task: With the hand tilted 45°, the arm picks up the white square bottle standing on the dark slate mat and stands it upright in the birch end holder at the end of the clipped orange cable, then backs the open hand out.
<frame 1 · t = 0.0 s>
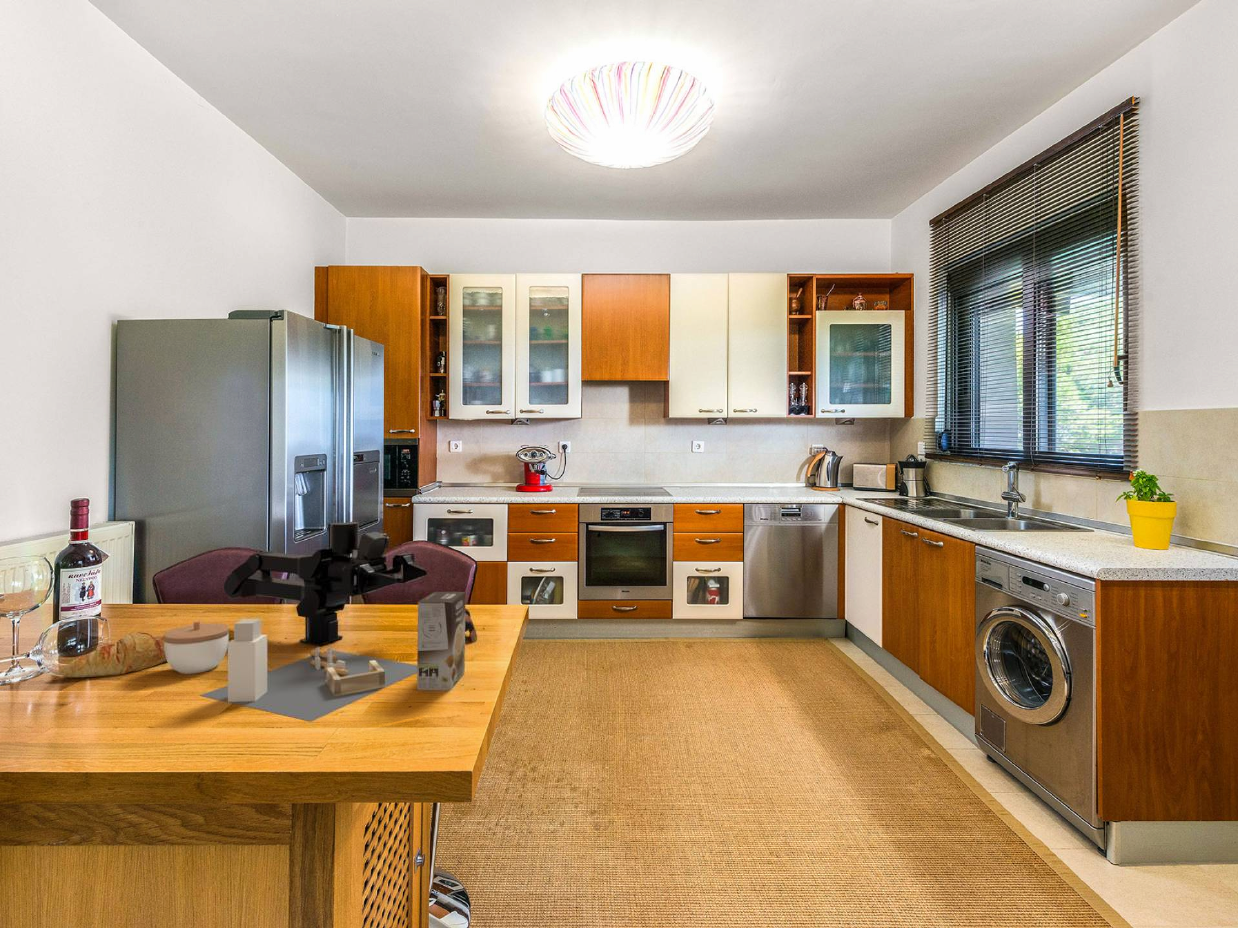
hand: (411, 576, 135), 17 cm above the worktop, tool horizontal, fingers open, 9 cm apart
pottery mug: (456, 640, 148), on the worktop
end holder: (355, 684, 118), resting on slate mat
slate mat: (321, 682, 119), on the worktop
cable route: (321, 640, 145), resting on slate mat
coffee box: (441, 683, 120), on the worktop
white square bottle: (248, 696, 111), resting on slate mat
bread loaf: (129, 668, 127), on the worktop
lidded jar: (197, 671, 125), on the worktop
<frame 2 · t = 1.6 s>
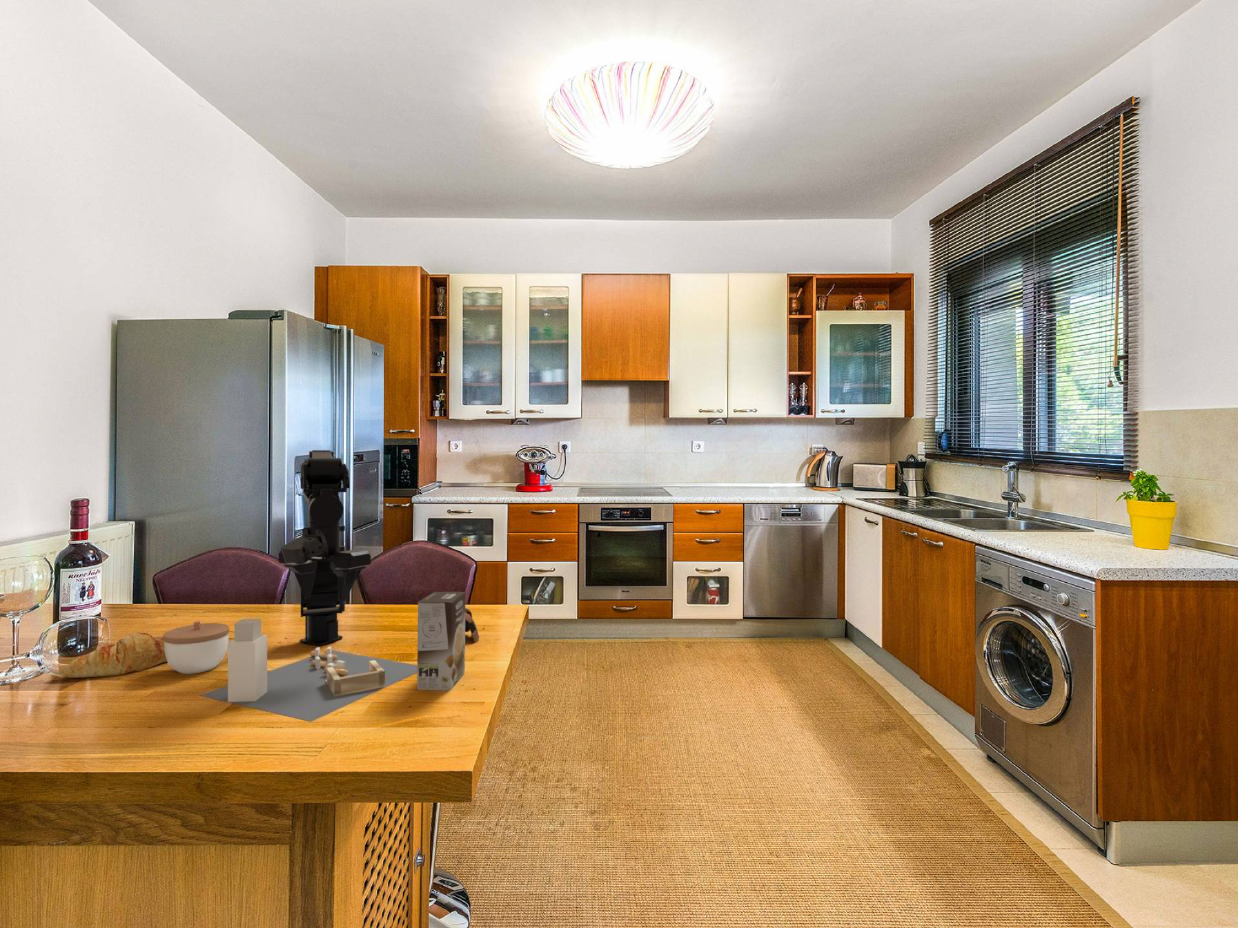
hand: (324, 600, 128), 13 cm above the worktop, tool pointing down, fingers open, 9 cm apart
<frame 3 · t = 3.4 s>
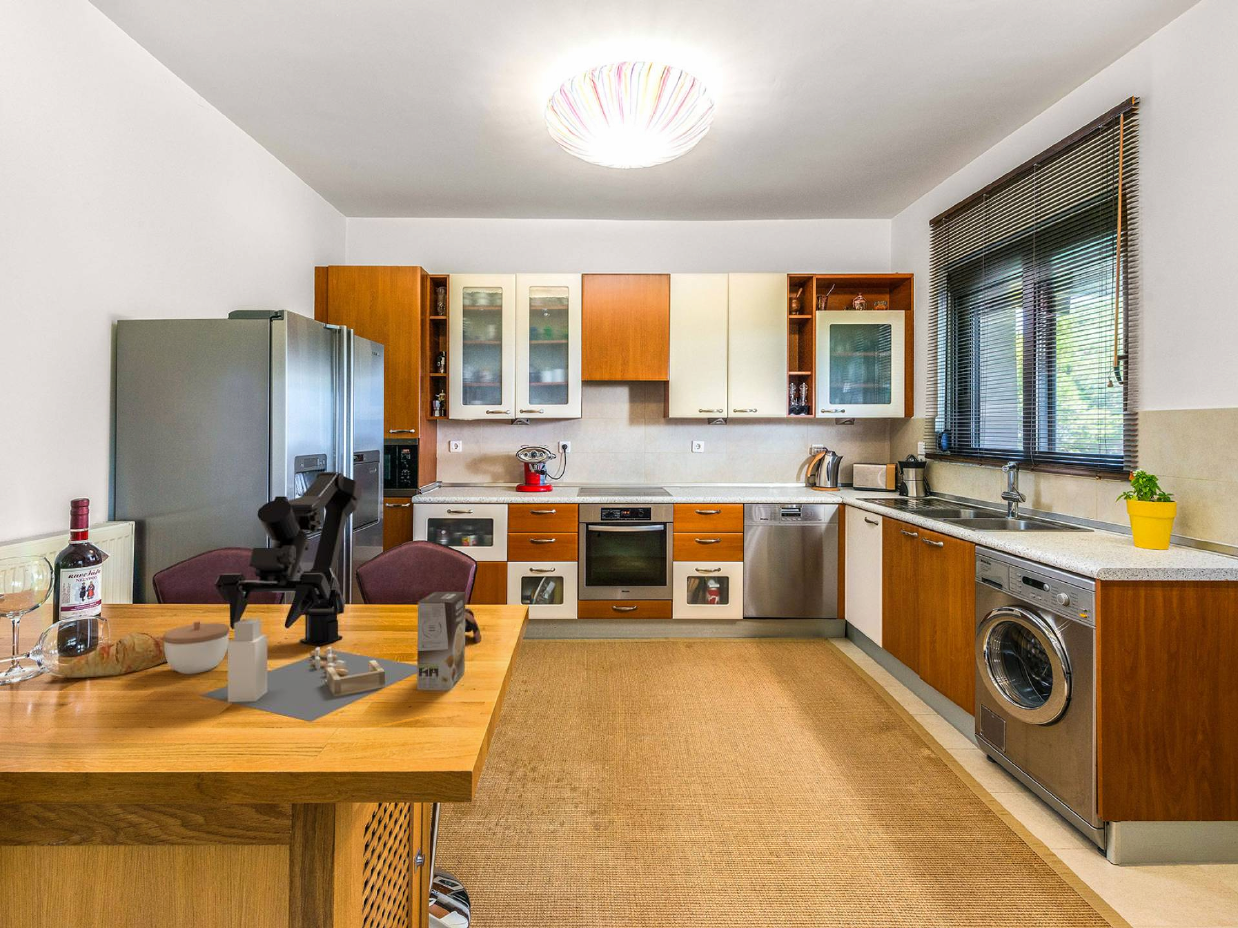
hand: (259, 627, 115), 11 cm above the worktop, tool tilted 45°, fingers open, 9 cm apart
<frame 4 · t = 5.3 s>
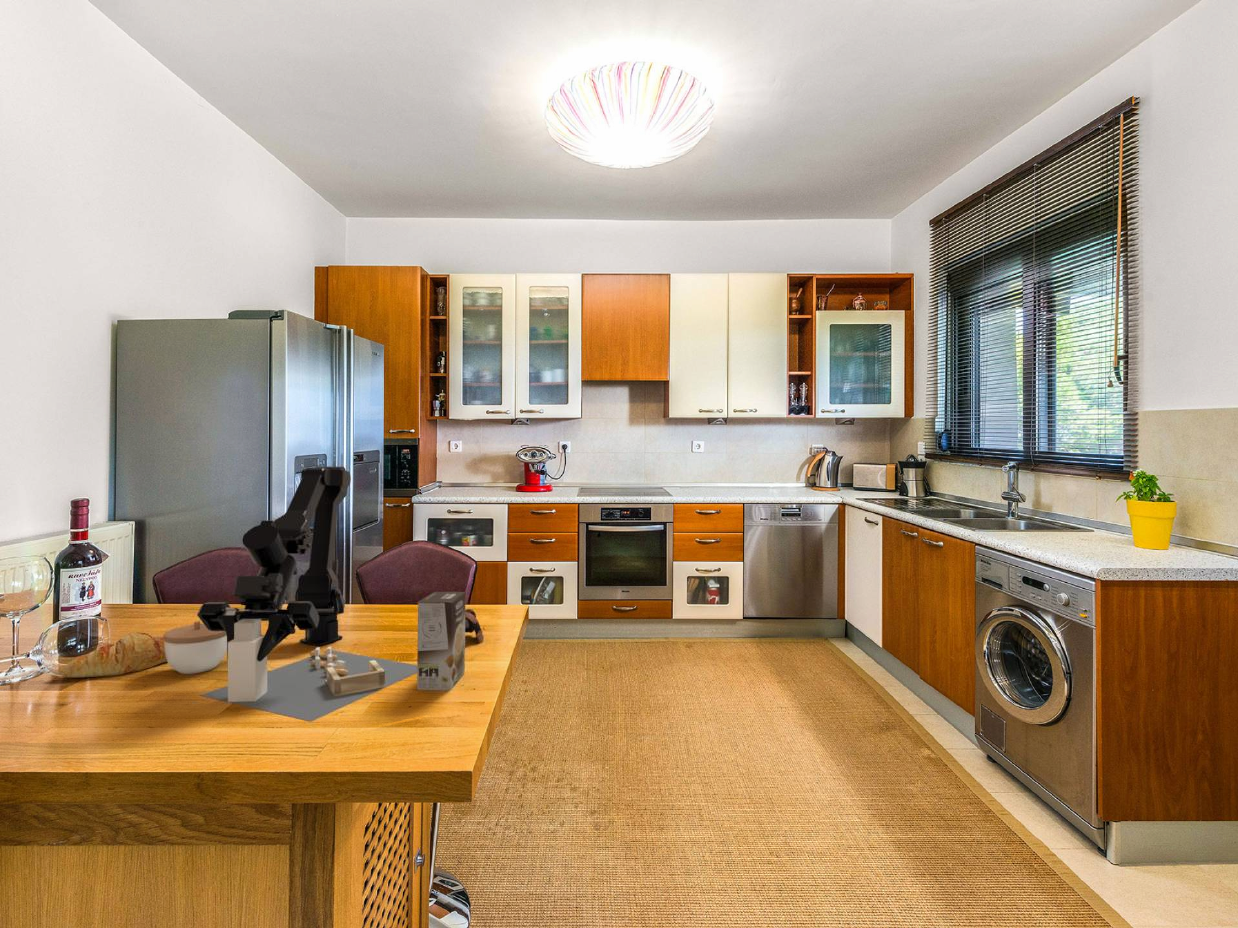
hand: (244, 660, 110), 7 cm above the worktop, tool tilted 45°, fingers closed on white square bottle, 4 cm apart
white square bottle: (248, 696, 111), resting on slate mat, touching gripper
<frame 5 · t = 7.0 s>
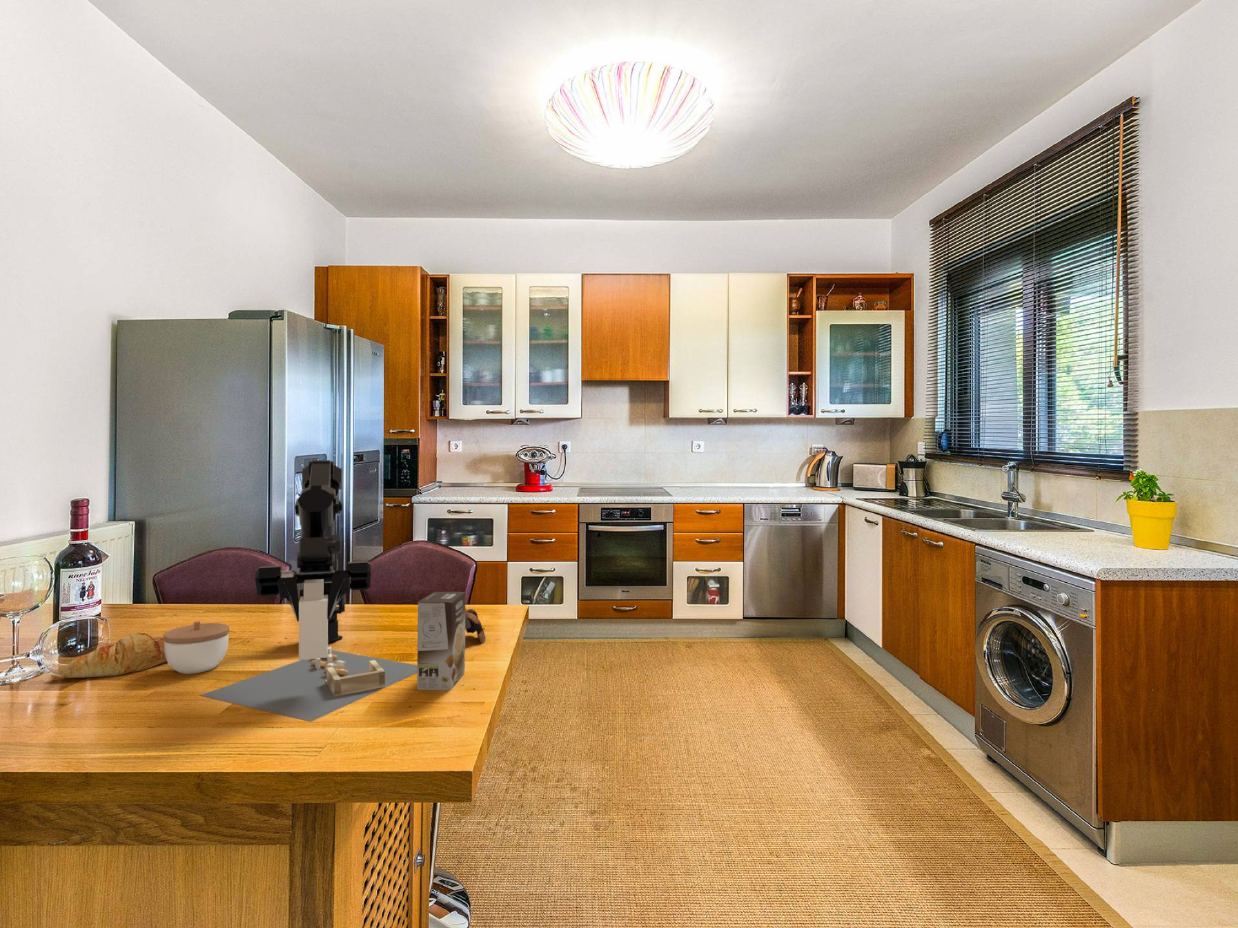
hand: (313, 619, 113), 13 cm above the worktop, tool tilted 45°, fingers closed on white square bottle, 4 cm apart
white square bottle: (313, 654, 114), point 7 cm above the worktop, touching gripper
when the fingers open (9 cm above the worktop, at t = 8.6 s): white square bottle drops 1 cm, resting on end holder.
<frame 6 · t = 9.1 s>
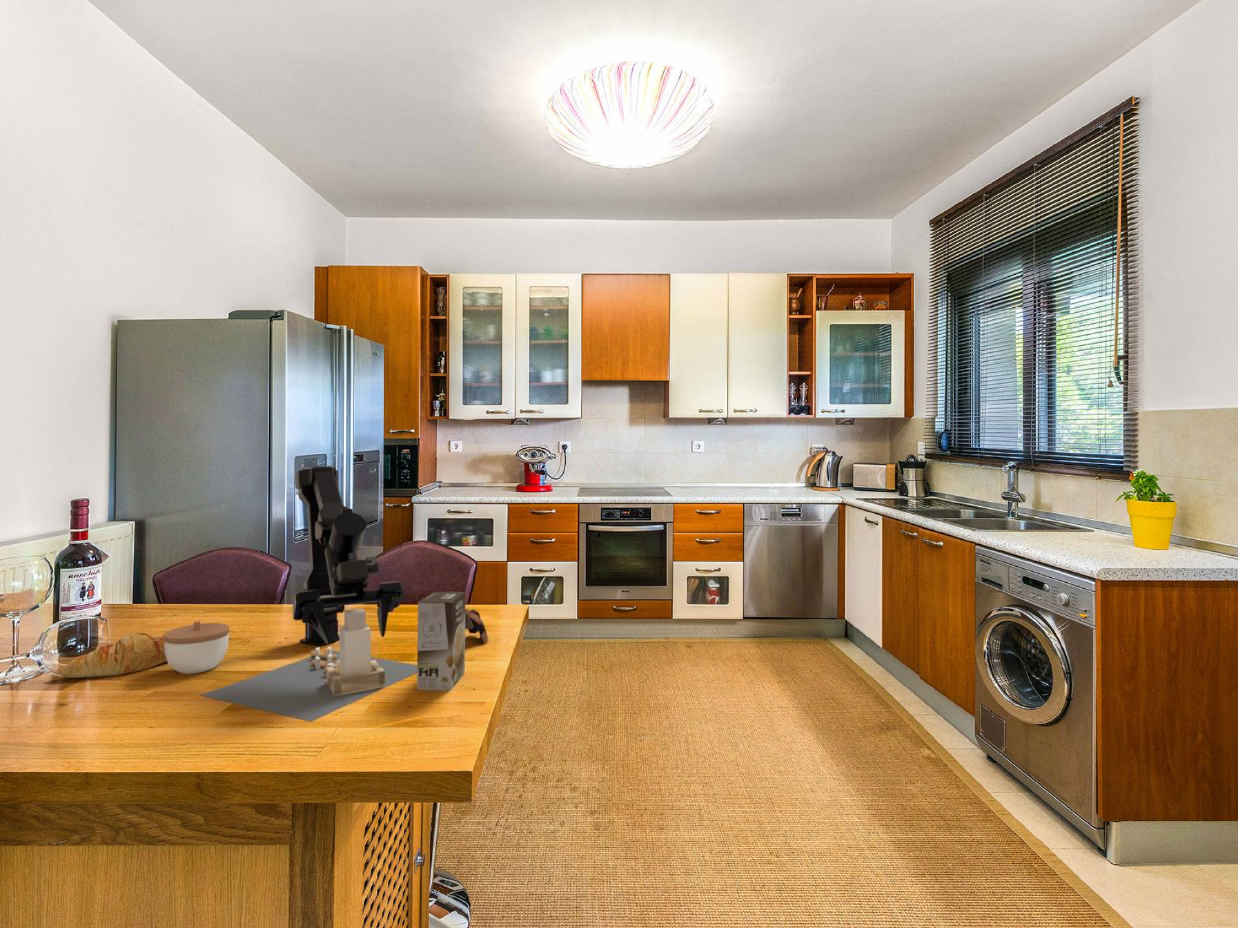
hand: (356, 639, 116), 9 cm above the worktop, tool tilted 45°, fingers open, 9 cm apart
white square bottle: (354, 682, 118), point 1 cm above the worktop, touching end holder
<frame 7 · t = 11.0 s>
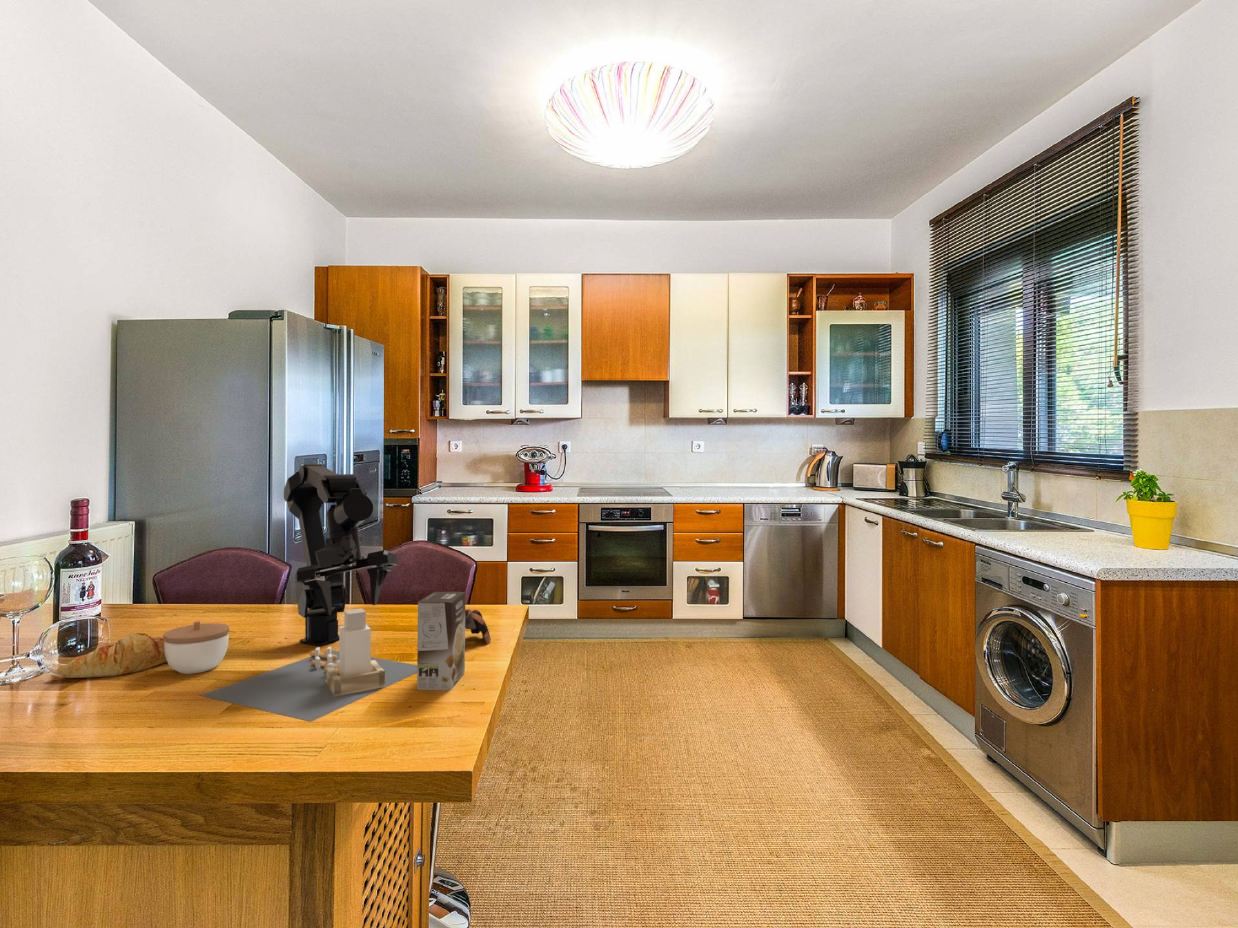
hand: (351, 609, 129), 11 cm above the worktop, tool tilted 20°, fingers open, 9 cm apart
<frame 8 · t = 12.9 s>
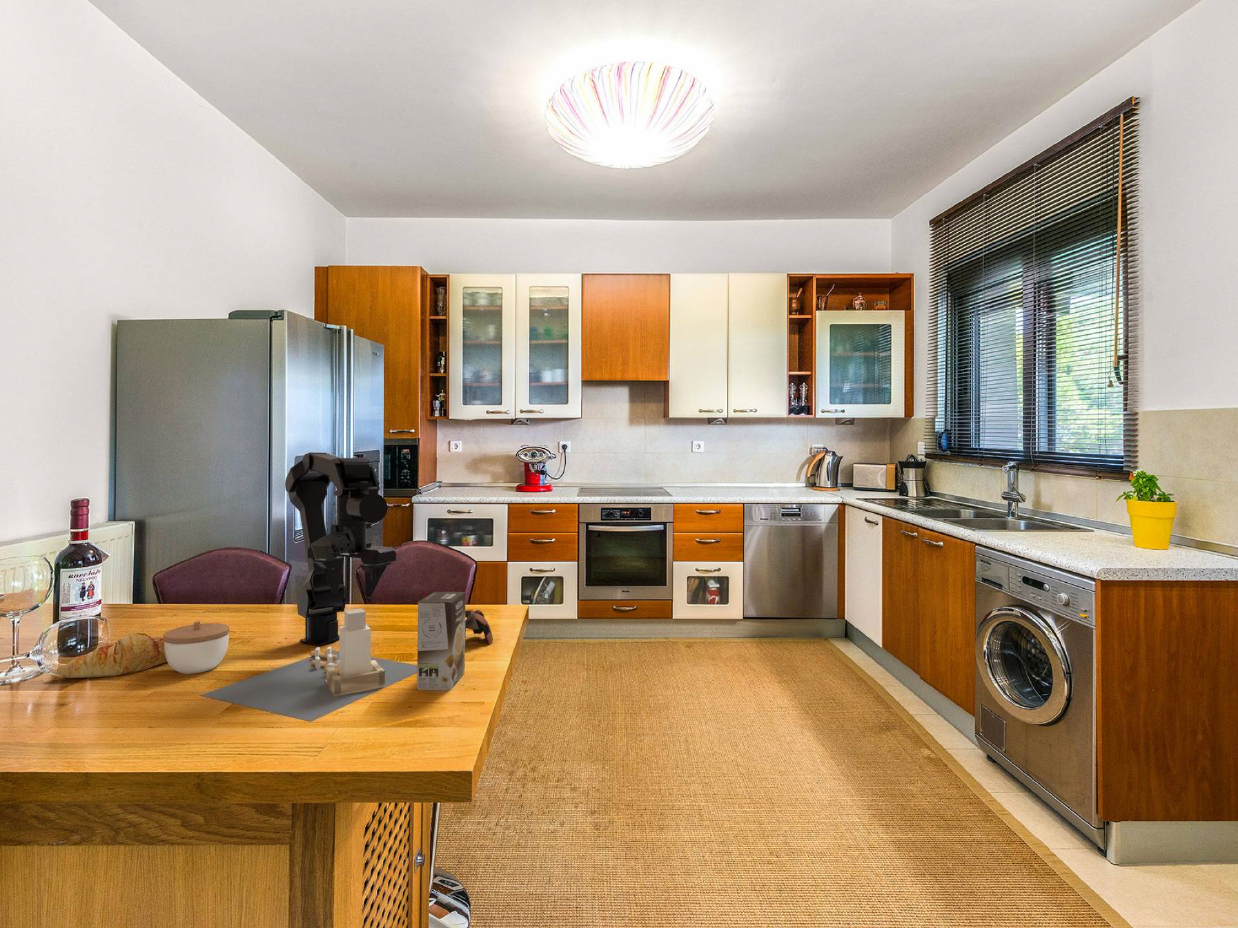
hand: (351, 594, 133), 13 cm above the worktop, tool pointing down, fingers open, 9 cm apart
at the end: white square bottle 0.1 cm off-centre on the end holder, point 0.3 cm above the end holder's base; white square bottle tilted 0°; the gripper is holding nothing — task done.
